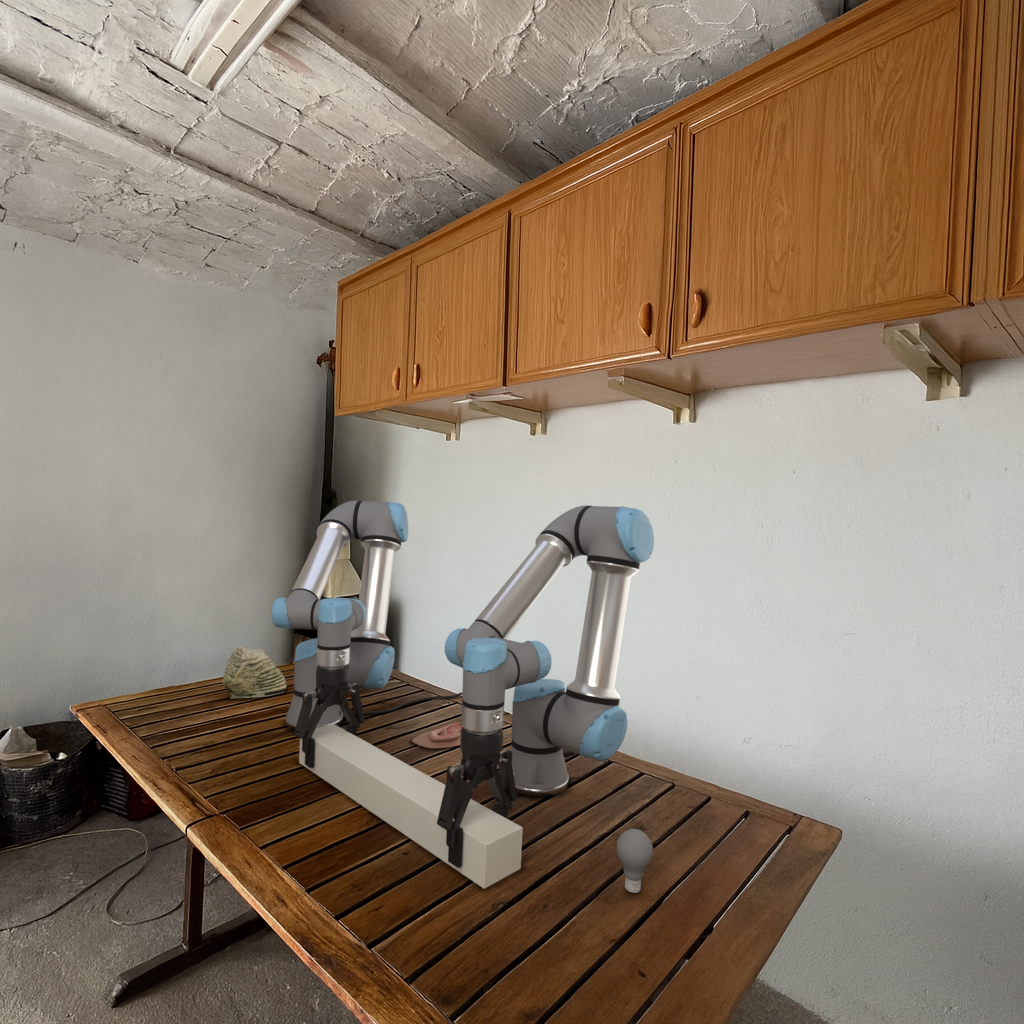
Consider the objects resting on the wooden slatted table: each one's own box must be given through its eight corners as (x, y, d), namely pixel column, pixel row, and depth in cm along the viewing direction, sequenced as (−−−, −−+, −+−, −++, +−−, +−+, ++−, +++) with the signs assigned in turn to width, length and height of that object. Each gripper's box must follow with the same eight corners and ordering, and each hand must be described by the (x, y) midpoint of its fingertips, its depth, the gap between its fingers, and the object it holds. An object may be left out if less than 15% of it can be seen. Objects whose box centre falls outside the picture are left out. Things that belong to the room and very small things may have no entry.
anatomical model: (408, 730, 163) (423, 715, 174) (407, 745, 163) (422, 730, 174) (457, 736, 160) (469, 721, 171) (457, 752, 160) (469, 735, 171)
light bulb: (610, 879, 108) (613, 822, 108) (644, 879, 109) (647, 822, 109) (619, 902, 102) (622, 840, 102) (655, 901, 103) (658, 840, 103)
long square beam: (298, 762, 150) (300, 731, 150) (332, 753, 156) (333, 723, 156) (484, 889, 105) (486, 845, 105) (521, 868, 111) (522, 827, 111)
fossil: (218, 695, 195) (220, 647, 195) (278, 685, 208) (279, 640, 207) (228, 703, 189) (230, 653, 188) (289, 692, 201) (290, 645, 201)
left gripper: (295, 676, 137) (291, 778, 138) (382, 661, 153) (378, 752, 154) (279, 669, 143) (276, 767, 143) (365, 655, 159) (362, 743, 159)
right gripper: (446, 750, 101) (441, 888, 102) (540, 719, 117) (535, 839, 118) (418, 736, 107) (413, 867, 107) (511, 709, 122) (506, 823, 123)
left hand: (329, 759), depth 148 cm, fingers open, 10 cm apart
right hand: (477, 852), depth 112 cm, fingers open, 10 cm apart
